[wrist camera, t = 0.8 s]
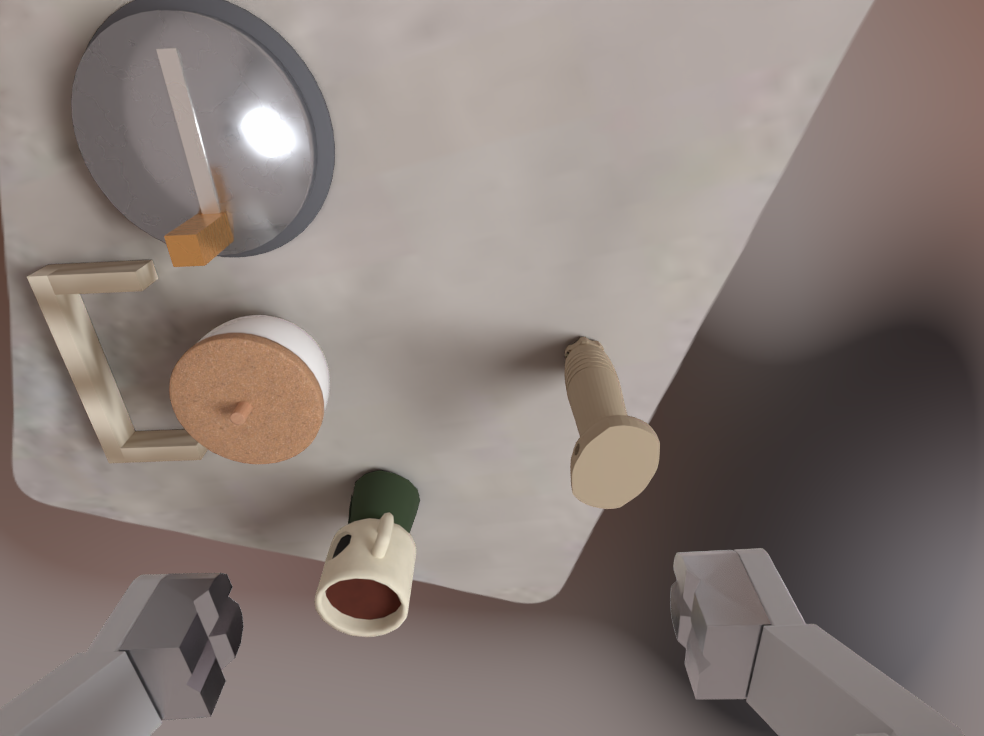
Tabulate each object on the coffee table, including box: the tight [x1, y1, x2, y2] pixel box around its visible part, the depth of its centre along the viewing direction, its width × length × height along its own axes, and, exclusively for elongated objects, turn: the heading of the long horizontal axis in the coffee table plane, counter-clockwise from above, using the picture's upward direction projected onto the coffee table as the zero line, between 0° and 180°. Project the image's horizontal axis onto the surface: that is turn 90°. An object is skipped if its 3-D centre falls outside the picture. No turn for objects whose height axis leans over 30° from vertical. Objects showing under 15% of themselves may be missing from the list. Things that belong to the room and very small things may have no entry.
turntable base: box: [85, 0, 335, 257], centre depth 42 cm, size 17×17×1 cm
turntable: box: [71, 10, 318, 267], centre depth 39 cm, size 15×15×7 cm
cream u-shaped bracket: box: [27, 260, 208, 463], centre depth 50 cm, size 17×8×2 cm, turn 3°
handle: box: [565, 337, 660, 509], centre depth 44 cm, size 5×6×15 cm
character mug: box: [315, 470, 420, 637], centre depth 52 cm, size 11×7×13 cm, turn 160°
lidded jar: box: [169, 315, 330, 464], centre depth 47 cm, size 11×11×9 cm
